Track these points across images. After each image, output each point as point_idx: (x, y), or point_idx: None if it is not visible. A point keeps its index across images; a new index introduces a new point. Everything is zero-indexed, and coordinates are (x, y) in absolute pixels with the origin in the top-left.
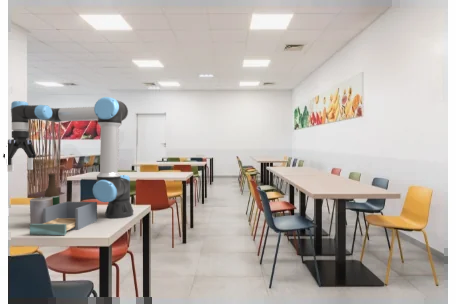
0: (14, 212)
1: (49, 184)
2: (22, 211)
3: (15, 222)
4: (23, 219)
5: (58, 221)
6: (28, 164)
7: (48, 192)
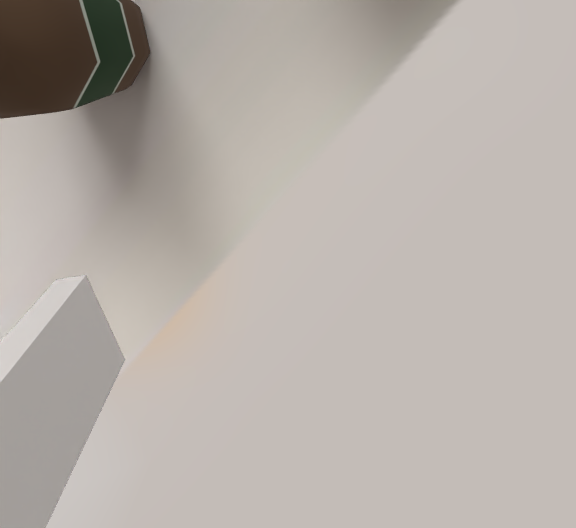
0: (147, 338)
1: None
2: (111, 321)
3: (353, 101)
4: (274, 125)
5: None
6: (67, 429)
7: (55, 23)
